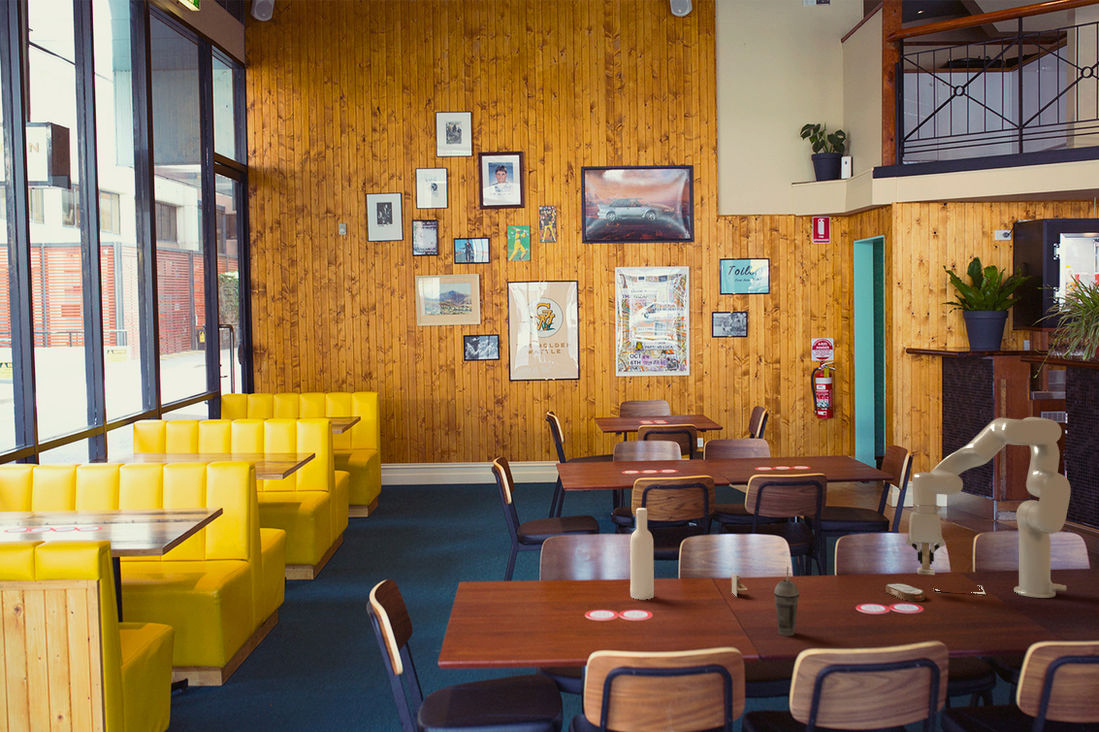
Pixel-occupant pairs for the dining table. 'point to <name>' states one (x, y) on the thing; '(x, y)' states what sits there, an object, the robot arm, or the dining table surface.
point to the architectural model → (734, 585)
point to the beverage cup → (786, 606)
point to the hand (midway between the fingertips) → (925, 562)
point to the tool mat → (973, 592)
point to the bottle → (641, 559)
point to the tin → (905, 592)
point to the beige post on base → (925, 561)
